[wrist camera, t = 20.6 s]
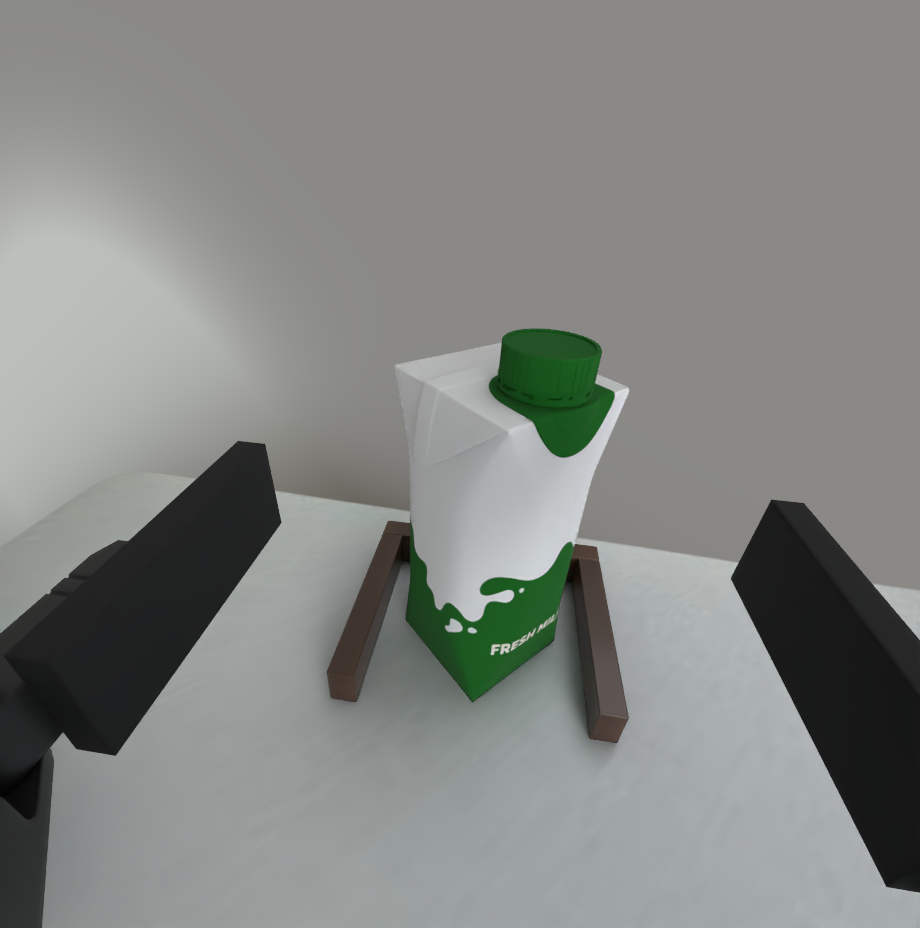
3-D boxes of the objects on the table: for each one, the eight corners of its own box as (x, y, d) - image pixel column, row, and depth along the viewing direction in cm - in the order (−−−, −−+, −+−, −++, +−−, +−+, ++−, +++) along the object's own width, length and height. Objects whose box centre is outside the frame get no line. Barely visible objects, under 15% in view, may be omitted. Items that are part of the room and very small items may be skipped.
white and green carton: (470, 725, 25) (513, 384, 14) (385, 616, 31) (371, 315, 20) (574, 644, 30) (664, 342, 19) (483, 562, 36) (514, 296, 25)
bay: (589, 570, 36) (596, 546, 34) (617, 743, 25) (629, 718, 23) (388, 544, 37) (388, 520, 36) (330, 698, 26) (326, 672, 25)
